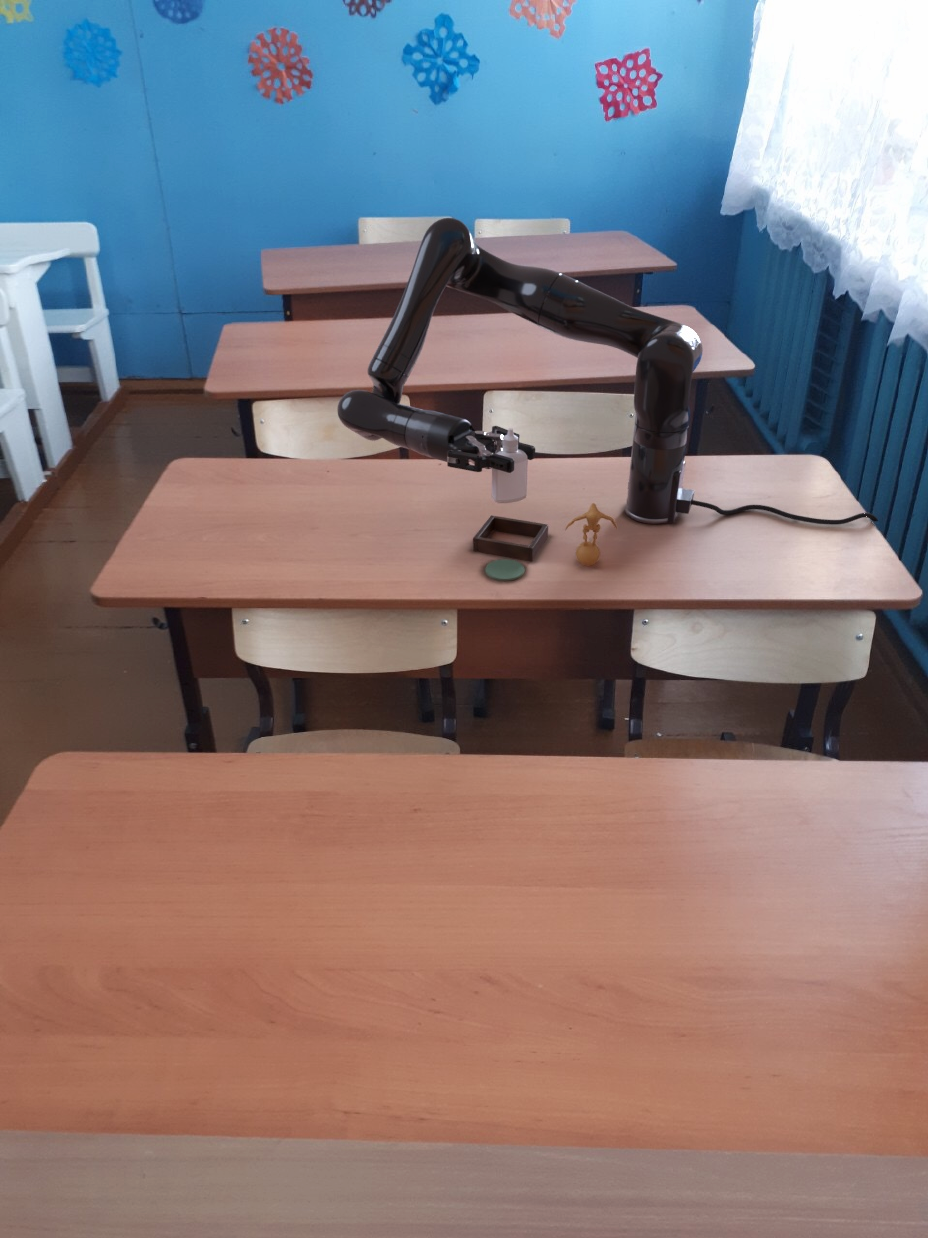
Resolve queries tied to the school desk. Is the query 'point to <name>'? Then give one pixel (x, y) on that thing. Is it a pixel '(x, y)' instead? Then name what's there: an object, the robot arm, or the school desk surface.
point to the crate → (508, 548)
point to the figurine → (589, 550)
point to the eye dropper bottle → (513, 483)
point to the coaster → (504, 570)
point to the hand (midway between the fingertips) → (523, 459)
